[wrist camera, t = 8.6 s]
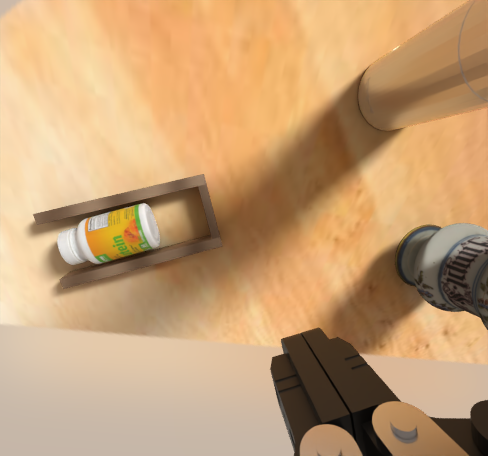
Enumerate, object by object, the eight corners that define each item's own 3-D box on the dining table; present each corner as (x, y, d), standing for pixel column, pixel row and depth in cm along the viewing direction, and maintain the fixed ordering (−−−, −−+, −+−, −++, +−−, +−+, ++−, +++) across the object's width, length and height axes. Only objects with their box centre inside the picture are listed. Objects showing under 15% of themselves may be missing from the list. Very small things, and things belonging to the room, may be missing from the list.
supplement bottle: (162, 255, 32) (77, 280, 31) (160, 225, 35) (84, 247, 34) (144, 223, 28) (47, 250, 27) (144, 193, 32) (58, 215, 31)
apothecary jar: (471, 241, 43) (660, 286, 25) (428, 305, 44) (581, 390, 26) (418, 202, 40) (590, 221, 22) (373, 271, 41) (504, 341, 23)
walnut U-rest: (203, 174, 34) (203, 173, 32) (220, 241, 36) (222, 246, 34) (46, 211, 32) (32, 214, 29) (73, 280, 34) (63, 288, 31)
